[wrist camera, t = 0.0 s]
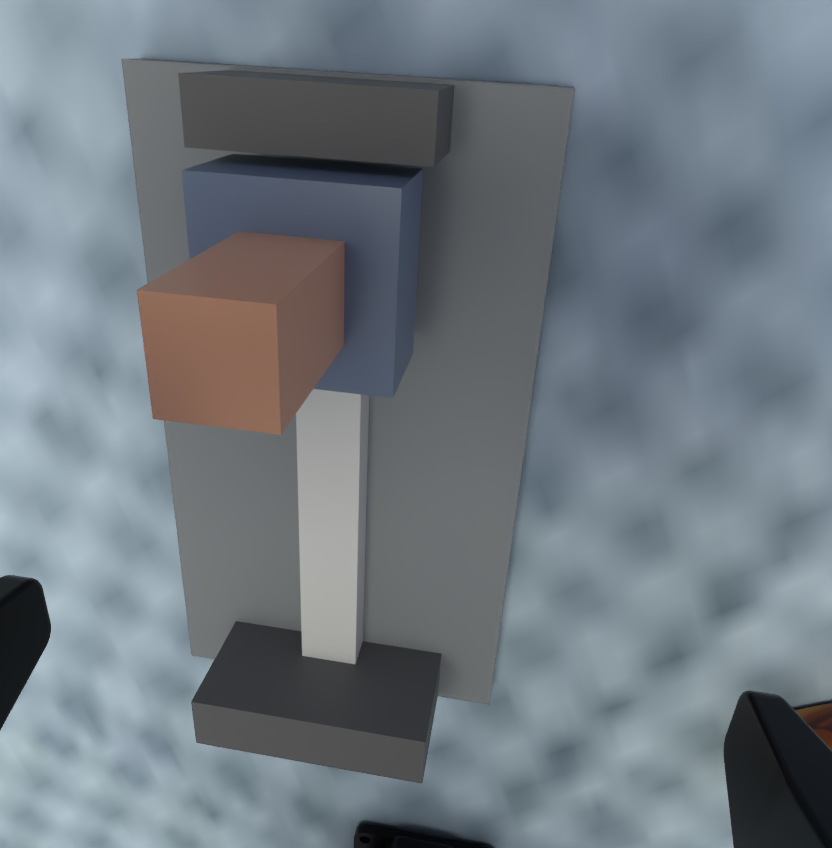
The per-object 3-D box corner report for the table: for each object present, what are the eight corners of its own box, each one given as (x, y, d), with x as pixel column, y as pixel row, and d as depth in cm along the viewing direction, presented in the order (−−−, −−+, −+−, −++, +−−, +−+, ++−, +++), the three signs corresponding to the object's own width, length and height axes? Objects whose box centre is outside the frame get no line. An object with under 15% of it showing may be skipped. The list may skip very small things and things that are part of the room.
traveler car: (412, 354, 21) (346, 500, 14) (243, 335, 21) (100, 467, 15) (423, 168, 18) (349, 236, 12) (232, 153, 19) (57, 210, 12)
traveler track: (491, 684, 29) (481, 798, 25) (201, 637, 30) (143, 736, 26) (573, 86, 19) (580, 96, 15) (139, 58, 21) (28, 60, 16)
